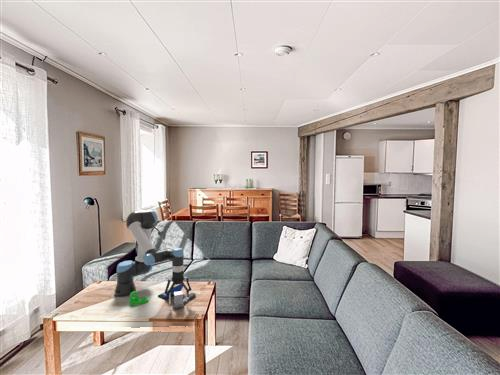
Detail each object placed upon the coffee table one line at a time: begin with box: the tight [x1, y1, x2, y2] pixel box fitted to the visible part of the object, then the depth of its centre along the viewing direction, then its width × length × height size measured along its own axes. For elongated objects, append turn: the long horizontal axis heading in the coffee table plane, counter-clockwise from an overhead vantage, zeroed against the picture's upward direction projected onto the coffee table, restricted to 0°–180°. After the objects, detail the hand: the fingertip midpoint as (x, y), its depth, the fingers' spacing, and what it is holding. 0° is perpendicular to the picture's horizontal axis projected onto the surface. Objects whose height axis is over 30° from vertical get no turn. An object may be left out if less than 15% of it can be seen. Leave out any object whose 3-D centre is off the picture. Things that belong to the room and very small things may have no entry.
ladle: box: [171, 292, 197, 311], centre depth 197 cm, size 8×22×6 cm, turn 156°
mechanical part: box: [129, 290, 149, 307], centre depth 197 cm, size 12×6×8 cm, turn 123°
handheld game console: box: [157, 284, 184, 301], centre depth 209 cm, size 16×13×9 cm
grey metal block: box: [173, 290, 184, 305], centre depth 190 cm, size 6×6×7 cm
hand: (178, 302), depth 190 cm, fingers open, 10 cm apart
